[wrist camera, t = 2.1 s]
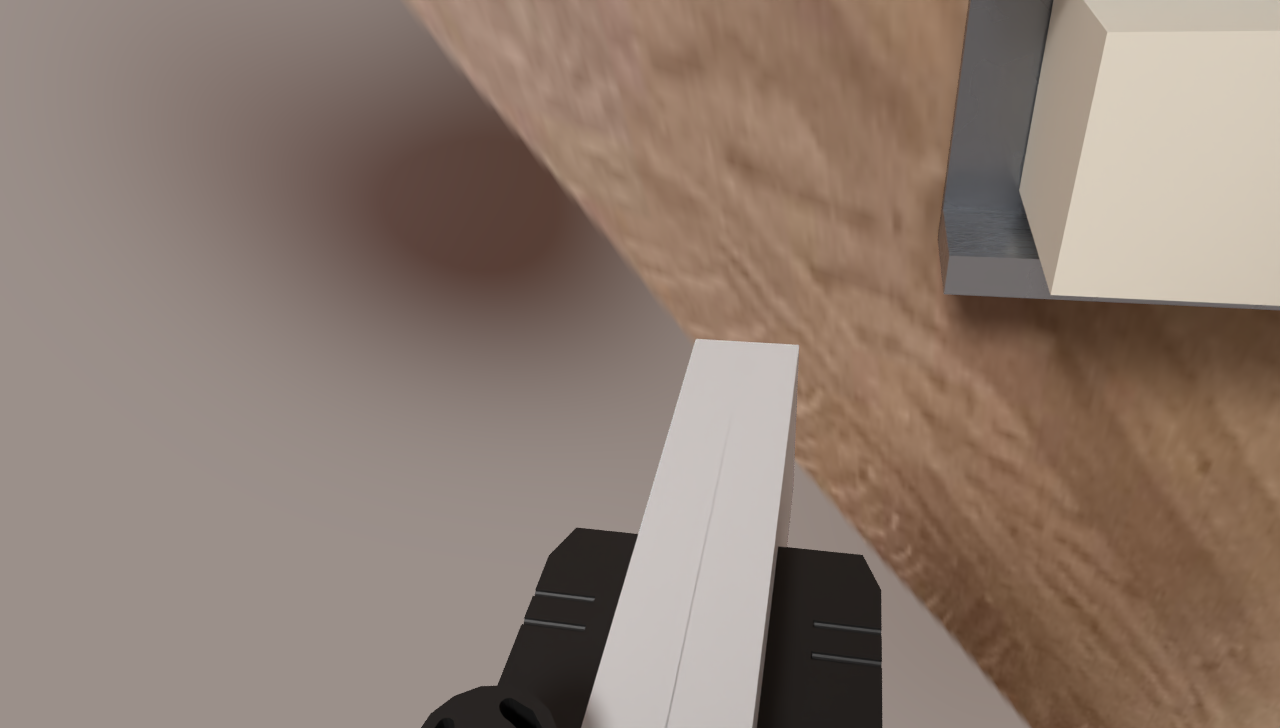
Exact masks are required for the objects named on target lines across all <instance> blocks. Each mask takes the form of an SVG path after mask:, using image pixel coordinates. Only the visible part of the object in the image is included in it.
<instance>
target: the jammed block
mask: <svg viewBox="0 0 1280 728" xmlns="http://www.w3.org/2000/svg"><path fill="white" fill-rule="evenodd" d="M1019 192H1020V196H1021V199H1022V202H1023V205H1024V209H1025V212H1026V215H1027V219H1028V222H1029V225H1030V229H1031V232H1032V235H1033V239H1034V242H1035V245H1036V249H1037V252H1038V255H1039V258H1040V262H1041V265H1042V268H1043V272H1044V275H1045V278H1046V282H1047V285H1048V288H1049V292H1050V295H1061V296H1082V297H1103V298H1124V299H1145V300H1167V301H1188V302H1209V303H1230V304H1251V305H1272V306H1280V0H1053V6H1052V11H1051V17H1050V23H1049V28H1048V34H1047V39H1046V45H1045V50H1044V56H1043V61H1042V67H1041V72H1040V78H1039V83H1038V89H1037V94H1036V100H1035V105H1034V111H1033V117H1032V122H1031V128H1030V133H1029V139H1028V144H1027V150H1026V155H1025V161H1024V166H1023V172H1022V177H1021V183H1020V188H1019Z"/></svg>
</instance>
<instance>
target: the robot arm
mask: <svg viewBox="0 0 1280 728" xmlns="http://www.w3.org/2000/svg"><path fill="white" fill-rule="evenodd" d="M798 360H799V345H790V344H773V343H756V342H739V341H722V340H705V339H696V340H695V344H694V347H693V351H692V354H691V357H690V361H689V364H688V368H687V371H686V375H685V378H684V381H683V384H682V388H681V392H680V395H679V398H678V401H677V405H676V408H675V412H674V415H673V418H672V422H671V425H670V429H669V432H668V435H667V439H666V442H665V446H664V449H663V452H662V456H661V459H660V462H659V466H658V469H657V473H656V476H655V480H654V483H653V487H652V490H651V493H650V496H649V500H648V503H647V506H646V510H645V513H644V517H643V520H642V523H641V527H640V530H639V533H638V534H631V533H622V532H612V531H603V530H594V529H584V528H576V529H575V530H574V531H573V532H572V533H571V534H570V535H569V536H568V537H567V538H566V539H565V540H564V541H563V542H562V543H561V544H560V545H559V546H558V547H557V548H556V549H555V550H554V551H553V552H552V553H551V554H550V555H549V557H548V559H547V562H546V564H545V567H544V570H543V572H542V574H541V577H540V580H539V582H538V585H537V587H536V593H535V596H533V597H532V600H531V602H530V605H529V607H528V610H527V612H526V615H525V620H524V624H522V625H521V628H520V630H519V632H518V635H517V637H516V640H515V643H514V645H513V648H512V650H511V653H510V655H509V658H508V660H507V663H506V665H505V668H504V670H503V673H502V675H501V678H500V681H499V683H498V685H497V686H481V687H478V688H475V689H472V690H470V691H467V692H464V693H461V694H459V695H456V696H454V697H452V698H451V699H450V700H448V701H447V702H446V703H444V704H443V705H442V706H440V707H439V708H438V709H436V710H435V711H434V712H433V713H431V714H430V716H429V717H428V719H427V720H426V721H425V723H424V724H423V726H422V727H421V728H882V668H881V662H882V647H881V646H882V641H881V640H882V639H881V589H880V587H879V585H878V584H877V581H876V580H875V578H874V576H873V574H872V572H871V570H870V568H869V566H868V564H867V562H866V560H865V559H864V557H863V555H856V554H847V553H837V552H827V551H818V550H808V549H798V548H788V547H787V542H788V532H789V523H790V513H791V505H792V494H793V482H794V457H795V433H796V409H797V384H798Z"/></svg>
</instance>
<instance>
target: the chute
mask: <svg viewBox="0 0 1280 728" xmlns="http://www.w3.org/2000/svg"><path fill="white" fill-rule="evenodd" d="M1052 6H1053V0H969V4H968V12H967V20H966V27H965V35H964V42H963V50H962V58H961V65H960V73H959V80H958V88H957V96H956V103H955V111H954V118H953V126H952V134H951V141H950V149H949V156H948V164H947V172H946V179H945V187H944V194H943V202H942V210H941V217H940V225H939V232H938V247H939V256H940V264H941V273H942V282H943V290H944V294H952V295H972V296H993V297H1014V298H1035V299H1055V300H1076V301H1097V302H1118V303H1139V304H1159V305H1180V306H1201V307H1222V308H1242V309H1263V310H1280V306H1272V305H1251V304H1230V303H1209V302H1188V301H1167V300H1145V299H1124V298H1103V297H1082V296H1061V295H1050V292H1049V288H1048V285H1047V282H1046V278H1045V275H1044V272H1043V268H1042V265H1041V262H1040V258H1039V255H1038V252H1037V249H1036V245H1035V242H1034V239H1033V235H1032V232H1031V229H1030V225H1029V222H1028V219H1027V215H1026V212H1025V209H1024V205H1023V202H1022V199H1021V196H1020V192H1019V188H1020V183H1021V177H1022V172H1023V166H1024V161H1025V155H1026V150H1027V144H1028V139H1029V133H1030V128H1031V122H1032V117H1033V111H1034V105H1035V100H1036V94H1037V89H1038V83H1039V78H1040V72H1041V67H1042V61H1043V56H1044V50H1045V45H1046V39H1047V34H1048V28H1049V23H1050V17H1051V11H1052Z"/></svg>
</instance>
